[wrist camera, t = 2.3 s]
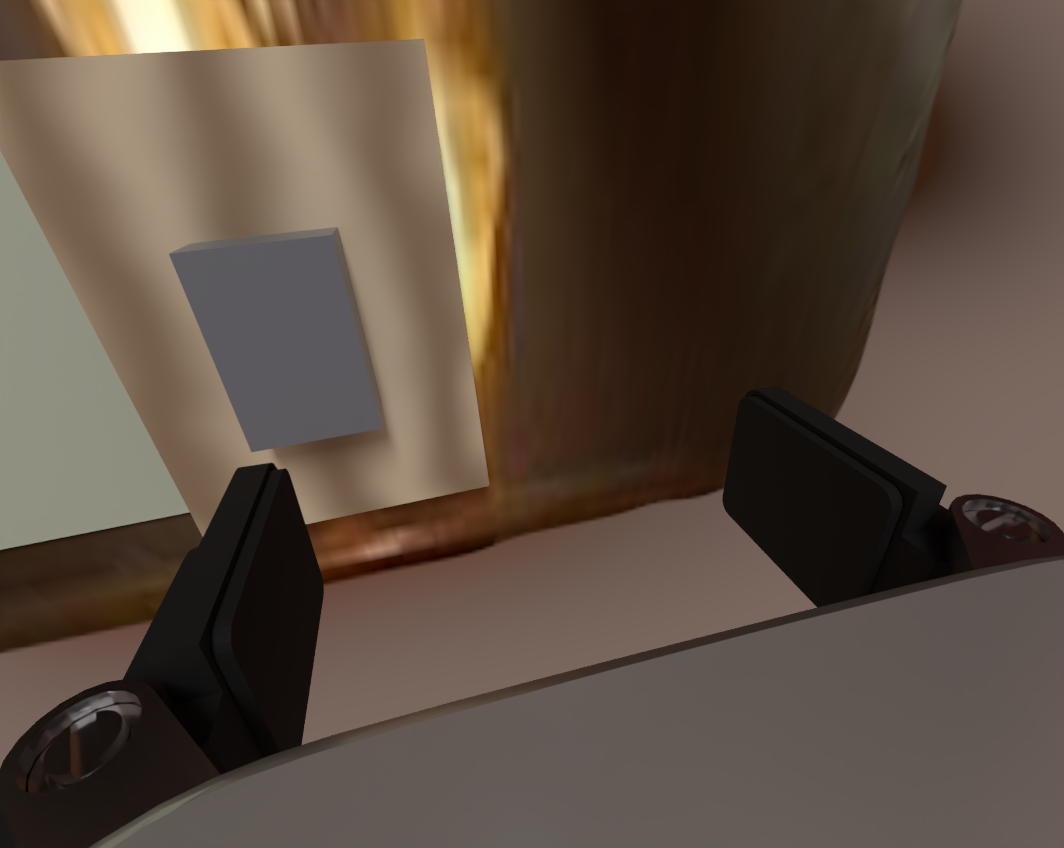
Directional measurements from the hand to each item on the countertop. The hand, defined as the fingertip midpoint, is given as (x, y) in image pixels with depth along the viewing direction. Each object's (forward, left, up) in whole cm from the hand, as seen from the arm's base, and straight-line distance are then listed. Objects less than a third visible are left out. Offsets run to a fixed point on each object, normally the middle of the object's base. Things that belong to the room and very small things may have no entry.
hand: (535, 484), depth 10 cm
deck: (+7, +1, -21) cm, 22 cm away
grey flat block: (+7, +1, -17) cm, 19 cm away
